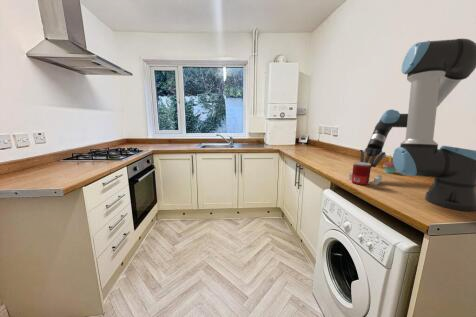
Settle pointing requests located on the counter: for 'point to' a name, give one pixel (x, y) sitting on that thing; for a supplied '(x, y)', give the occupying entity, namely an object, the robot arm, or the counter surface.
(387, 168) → the cupcake
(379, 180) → the channel
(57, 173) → the counter surface
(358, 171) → the canned food
